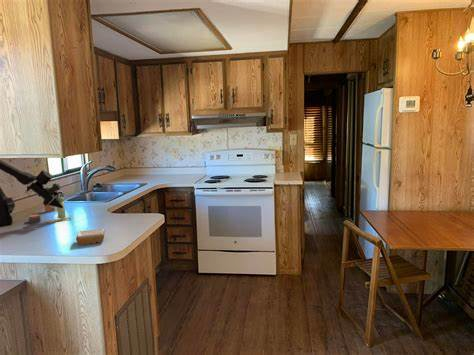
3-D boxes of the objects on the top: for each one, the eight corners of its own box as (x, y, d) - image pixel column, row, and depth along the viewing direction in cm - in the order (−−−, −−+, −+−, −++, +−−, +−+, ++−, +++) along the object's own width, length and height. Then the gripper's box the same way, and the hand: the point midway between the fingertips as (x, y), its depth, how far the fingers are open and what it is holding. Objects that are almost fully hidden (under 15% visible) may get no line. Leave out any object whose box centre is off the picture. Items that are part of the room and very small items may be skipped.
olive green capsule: (58, 218, 210) (56, 198, 209) (57, 217, 214) (55, 197, 213) (65, 217, 212) (63, 198, 211) (65, 216, 216) (63, 196, 214)
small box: (44, 212, 240) (43, 196, 238) (51, 210, 245) (49, 195, 244) (54, 212, 238) (53, 197, 236) (60, 210, 243) (59, 195, 242)
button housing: (29, 224, 207) (28, 218, 207) (29, 222, 213) (29, 216, 212) (40, 222, 210) (40, 217, 210) (41, 220, 215) (40, 215, 215)
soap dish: (76, 247, 164) (75, 236, 163) (78, 241, 173) (77, 231, 172) (105, 243, 168) (104, 232, 167) (105, 237, 177) (104, 227, 177)
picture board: (42, 225, 205) (42, 224, 205) (43, 219, 219) (42, 218, 219) (77, 220, 213) (77, 219, 213) (75, 214, 228) (75, 213, 228)
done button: (30, 220, 208) (30, 216, 208) (31, 218, 212) (30, 215, 212) (38, 219, 210) (38, 215, 210) (38, 217, 214) (38, 214, 214)
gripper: (47, 182, 200) (70, 199, 205) (53, 178, 218) (74, 194, 223) (33, 196, 199) (56, 214, 204) (40, 191, 217) (62, 207, 221)
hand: (63, 206), depth 213 cm, fingers closed on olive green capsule, 4 cm apart
